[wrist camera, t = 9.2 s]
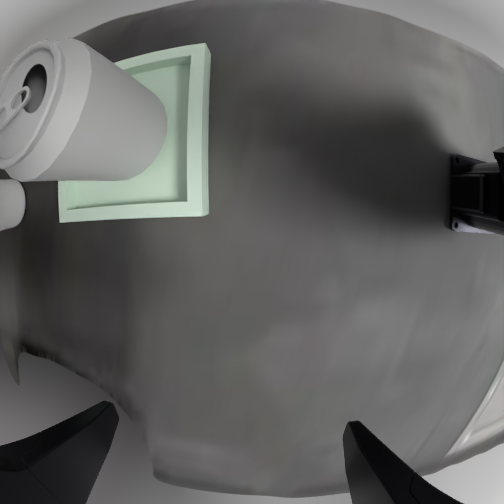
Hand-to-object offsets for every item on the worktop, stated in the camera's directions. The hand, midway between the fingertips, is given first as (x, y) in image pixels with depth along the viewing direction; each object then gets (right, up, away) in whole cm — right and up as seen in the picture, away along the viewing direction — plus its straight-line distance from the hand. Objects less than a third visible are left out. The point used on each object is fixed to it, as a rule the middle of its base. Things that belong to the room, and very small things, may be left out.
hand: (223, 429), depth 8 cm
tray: (-9, +16, +11) cm, 21 cm away
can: (-9, +15, +10) cm, 20 cm away
